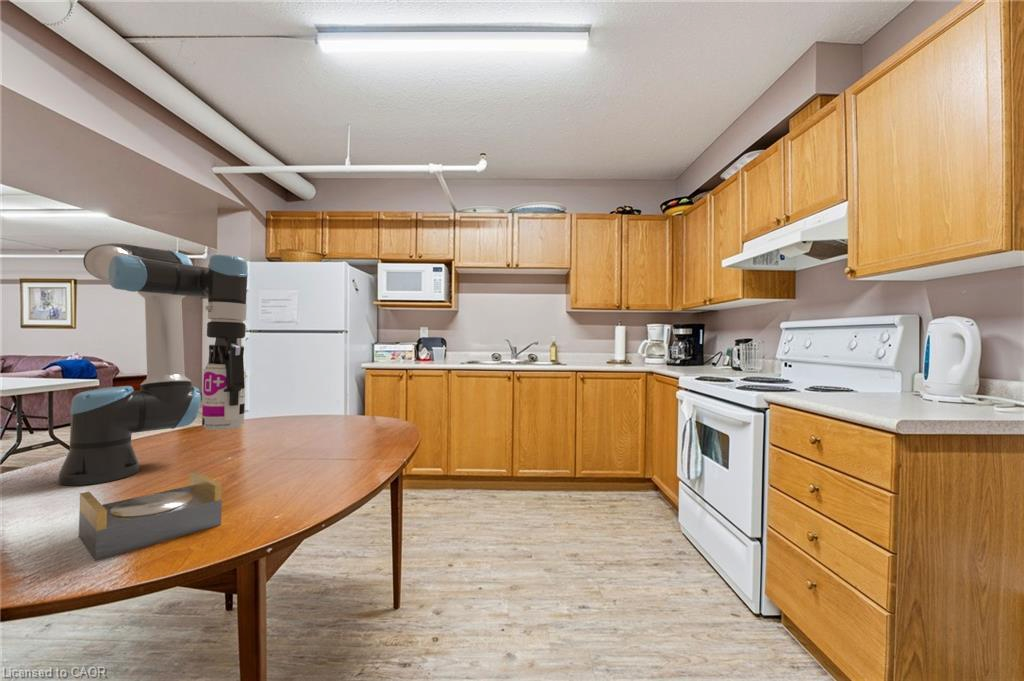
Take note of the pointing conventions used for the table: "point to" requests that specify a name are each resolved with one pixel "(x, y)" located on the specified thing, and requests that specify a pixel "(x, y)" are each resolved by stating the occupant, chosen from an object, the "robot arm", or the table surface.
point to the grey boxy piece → (149, 517)
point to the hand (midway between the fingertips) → (223, 417)
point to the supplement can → (218, 399)
